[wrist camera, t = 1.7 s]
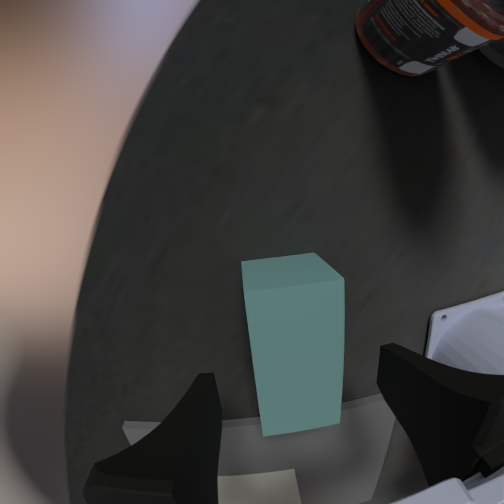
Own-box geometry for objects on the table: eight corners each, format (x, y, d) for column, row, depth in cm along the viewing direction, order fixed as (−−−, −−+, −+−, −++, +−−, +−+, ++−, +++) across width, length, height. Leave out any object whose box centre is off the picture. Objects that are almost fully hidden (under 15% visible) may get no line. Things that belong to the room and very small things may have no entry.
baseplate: (395, 388, 19) (400, 394, 18) (368, 495, 23) (370, 500, 22) (125, 420, 19) (122, 427, 18) (179, 517, 22) (179, 523, 21)
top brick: (313, 252, 17) (344, 278, 12) (318, 372, 18) (339, 423, 14) (241, 261, 17) (243, 292, 12) (256, 382, 18) (263, 436, 13)
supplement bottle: (421, 97, 15) (563, 49, 4) (339, 45, 14) (442, -72, 3) (438, 36, 14) (547, -23, 3) (366, -12, 13) (448, -110, 2)
